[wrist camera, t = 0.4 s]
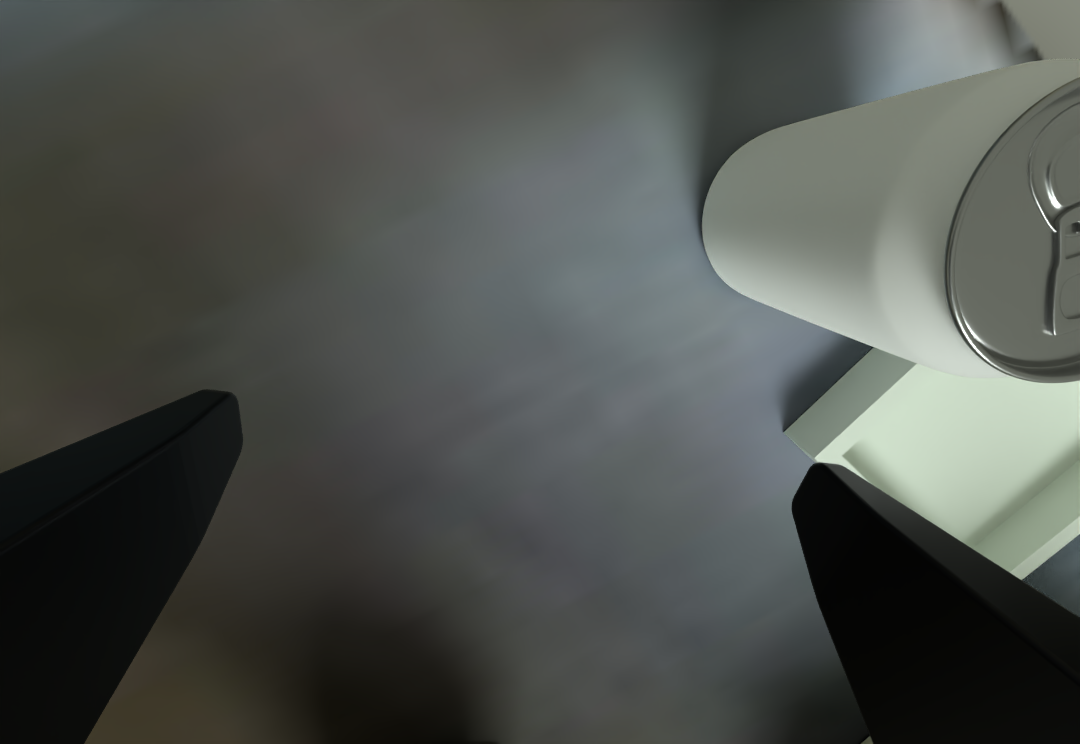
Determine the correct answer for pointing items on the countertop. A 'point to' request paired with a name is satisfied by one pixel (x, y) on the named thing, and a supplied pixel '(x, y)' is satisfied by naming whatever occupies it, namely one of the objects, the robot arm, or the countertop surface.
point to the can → (921, 223)
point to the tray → (959, 452)
